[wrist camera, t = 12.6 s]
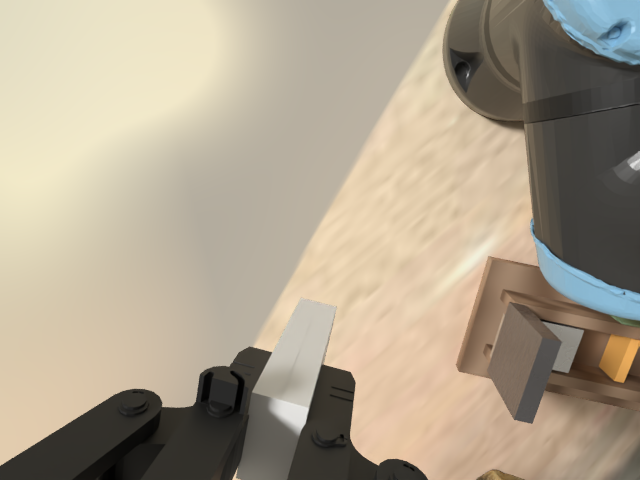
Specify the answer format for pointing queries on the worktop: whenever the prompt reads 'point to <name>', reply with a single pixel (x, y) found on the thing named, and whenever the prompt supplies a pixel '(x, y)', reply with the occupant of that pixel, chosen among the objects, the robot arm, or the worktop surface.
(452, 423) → the worktop surface
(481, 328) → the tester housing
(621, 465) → the worktop surface
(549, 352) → the push plunger
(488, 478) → the rock
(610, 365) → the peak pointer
